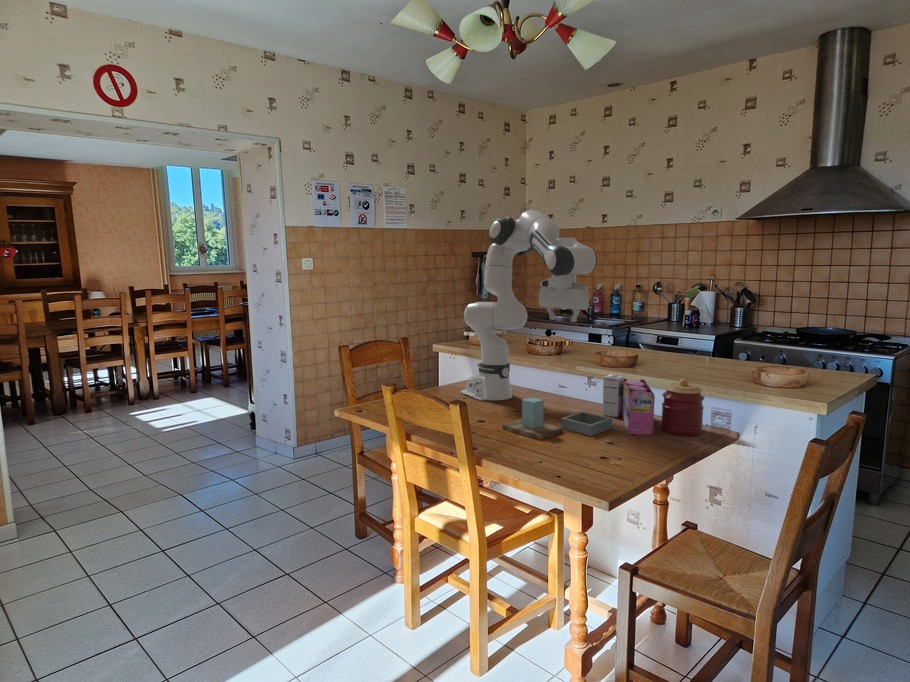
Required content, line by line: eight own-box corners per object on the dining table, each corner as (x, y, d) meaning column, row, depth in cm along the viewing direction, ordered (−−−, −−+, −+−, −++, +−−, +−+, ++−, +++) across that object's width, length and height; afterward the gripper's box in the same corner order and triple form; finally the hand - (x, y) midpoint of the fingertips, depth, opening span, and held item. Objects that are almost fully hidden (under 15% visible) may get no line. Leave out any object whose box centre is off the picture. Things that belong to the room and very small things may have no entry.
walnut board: (502, 429, 196) (502, 424, 196) (525, 421, 204) (525, 417, 204) (539, 440, 185) (539, 435, 184) (562, 432, 193) (562, 427, 192)
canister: (674, 422, 203) (677, 372, 200) (710, 431, 192) (713, 379, 190) (652, 429, 195) (655, 377, 192) (688, 439, 185) (691, 384, 182)
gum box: (620, 414, 214) (622, 377, 212) (643, 414, 212) (644, 378, 210) (628, 434, 190) (629, 393, 188) (653, 435, 189) (655, 394, 187)
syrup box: (617, 417, 209) (619, 378, 206) (601, 415, 212) (603, 376, 210) (623, 414, 213) (625, 375, 211) (608, 411, 217) (609, 373, 214)
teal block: (521, 425, 194) (522, 399, 193) (532, 423, 198) (532, 397, 196) (533, 429, 191) (533, 402, 189) (543, 426, 194) (543, 400, 193)
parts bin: (561, 428, 197) (561, 418, 196) (581, 421, 205) (582, 411, 204) (591, 436, 188) (591, 425, 187) (611, 428, 196) (612, 418, 195)
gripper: (593, 283, 205) (592, 322, 207) (547, 281, 220) (546, 317, 222) (582, 284, 200) (581, 323, 203) (536, 281, 215) (535, 319, 218)
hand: (562, 320), depth 212 cm, fingers open, 8 cm apart
